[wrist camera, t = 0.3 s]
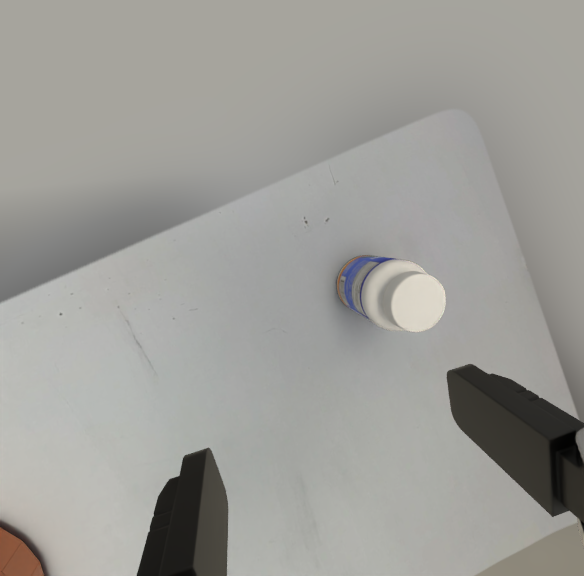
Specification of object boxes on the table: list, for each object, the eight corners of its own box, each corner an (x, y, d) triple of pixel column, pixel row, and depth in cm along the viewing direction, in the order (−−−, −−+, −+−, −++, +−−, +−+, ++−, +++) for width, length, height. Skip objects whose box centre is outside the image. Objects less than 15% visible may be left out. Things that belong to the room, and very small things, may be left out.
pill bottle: (399, 273, 32) (472, 287, 22) (370, 321, 32) (430, 356, 22) (354, 243, 30) (410, 246, 21) (324, 294, 31) (366, 319, 21)
